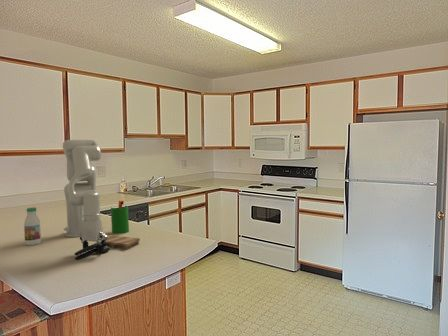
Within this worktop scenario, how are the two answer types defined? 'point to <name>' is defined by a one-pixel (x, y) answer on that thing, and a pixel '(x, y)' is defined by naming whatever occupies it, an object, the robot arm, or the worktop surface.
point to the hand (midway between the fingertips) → (93, 251)
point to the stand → (121, 241)
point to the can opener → (90, 250)
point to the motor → (120, 219)
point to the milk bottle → (32, 228)
